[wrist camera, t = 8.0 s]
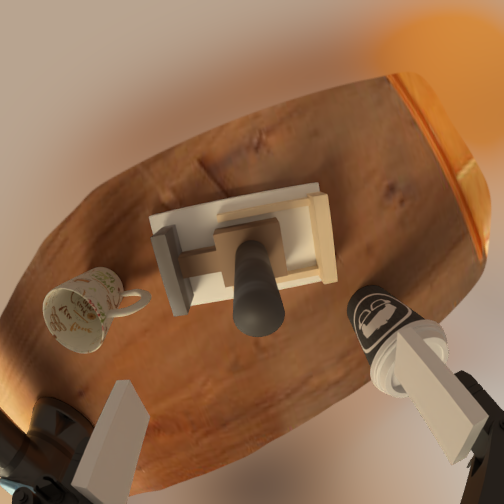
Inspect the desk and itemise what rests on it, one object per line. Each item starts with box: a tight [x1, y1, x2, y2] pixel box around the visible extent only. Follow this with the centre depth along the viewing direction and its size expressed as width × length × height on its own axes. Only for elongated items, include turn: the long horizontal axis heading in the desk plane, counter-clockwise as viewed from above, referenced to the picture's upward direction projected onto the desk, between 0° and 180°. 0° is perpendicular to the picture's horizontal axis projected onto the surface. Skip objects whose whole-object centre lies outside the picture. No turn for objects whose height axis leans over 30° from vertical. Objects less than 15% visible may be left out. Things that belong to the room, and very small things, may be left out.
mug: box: [43, 267, 151, 353], centre depth 32 cm, size 8×13×10 cm, turn 98°
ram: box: [150, 217, 288, 337], centre depth 27 cm, size 13×9×16 cm
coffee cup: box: [347, 285, 449, 398], centre depth 32 cm, size 10×10×15 cm
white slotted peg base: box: [149, 182, 337, 306], centre depth 34 cm, size 20×12×4 cm, turn 101°
